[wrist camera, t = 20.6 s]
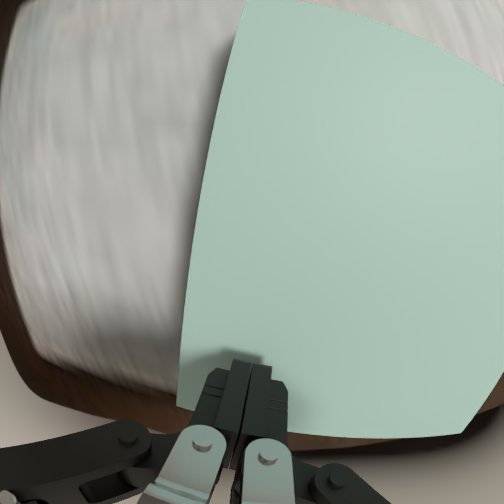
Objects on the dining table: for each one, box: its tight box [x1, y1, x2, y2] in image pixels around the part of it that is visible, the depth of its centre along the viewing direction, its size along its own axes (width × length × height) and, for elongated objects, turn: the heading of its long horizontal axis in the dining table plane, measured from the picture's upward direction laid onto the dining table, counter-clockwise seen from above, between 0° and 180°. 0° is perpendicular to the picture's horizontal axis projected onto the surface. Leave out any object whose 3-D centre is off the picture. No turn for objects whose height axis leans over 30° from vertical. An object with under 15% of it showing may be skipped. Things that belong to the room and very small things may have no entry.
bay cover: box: [176, 0, 504, 438], centre depth 10 cm, size 18×17×1 cm
